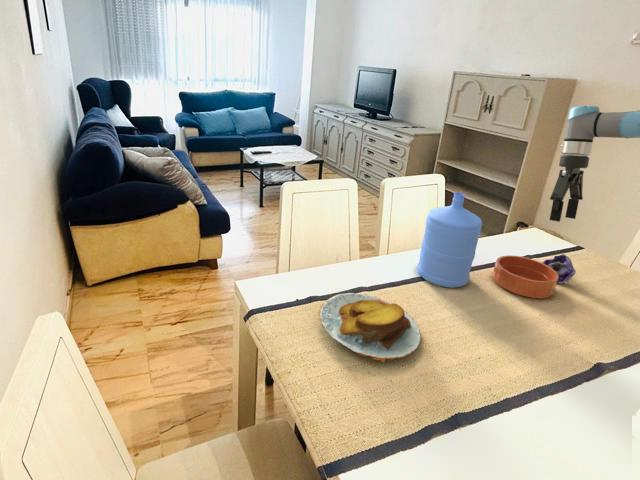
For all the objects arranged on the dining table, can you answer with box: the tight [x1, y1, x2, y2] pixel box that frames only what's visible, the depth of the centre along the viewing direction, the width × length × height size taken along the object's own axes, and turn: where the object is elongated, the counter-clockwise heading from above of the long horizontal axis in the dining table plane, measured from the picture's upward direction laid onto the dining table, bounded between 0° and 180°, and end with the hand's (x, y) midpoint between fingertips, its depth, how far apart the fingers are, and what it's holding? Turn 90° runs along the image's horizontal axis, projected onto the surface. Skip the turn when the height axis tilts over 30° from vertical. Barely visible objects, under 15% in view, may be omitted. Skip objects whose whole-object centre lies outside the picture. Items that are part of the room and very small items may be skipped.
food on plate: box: [318, 292, 422, 362], centre depth 97 cm, size 25×25×7 cm
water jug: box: [416, 192, 483, 289], centre depth 120 cm, size 16×16×28 cm
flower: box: [541, 253, 577, 285], centre depth 126 cm, size 9×9×10 cm
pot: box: [491, 255, 559, 299], centre depth 121 cm, size 17×17×6 cm
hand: (562, 219), depth 128 cm, fingers open, 13 cm apart
